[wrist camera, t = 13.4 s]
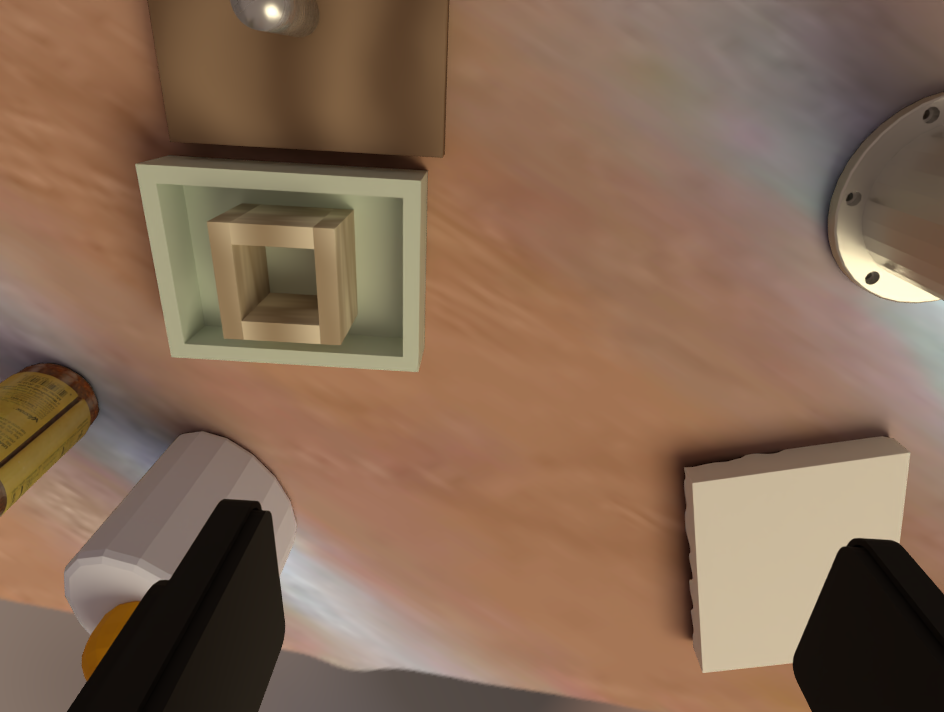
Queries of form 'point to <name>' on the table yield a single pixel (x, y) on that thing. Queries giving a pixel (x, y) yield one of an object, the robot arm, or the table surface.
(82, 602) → the soap bottle
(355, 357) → the tray
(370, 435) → the table surface
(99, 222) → the table surface
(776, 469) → the cream wavy-edged slab
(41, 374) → the sauce bottle
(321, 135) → the stake board
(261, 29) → the cylinder
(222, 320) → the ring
